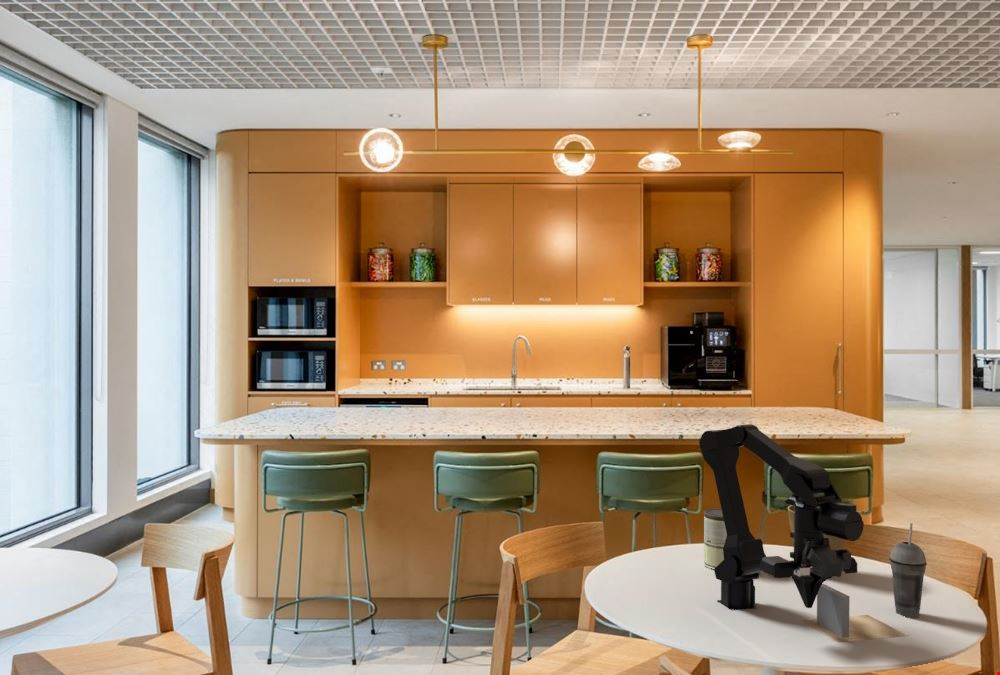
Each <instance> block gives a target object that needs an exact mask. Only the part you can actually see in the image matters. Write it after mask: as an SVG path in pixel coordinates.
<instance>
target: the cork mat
mask: <svg viewBox="0 0 1000 675" xmlns="http://www.w3.org/2000/svg"><path fill="white" fill-rule="evenodd" d="M801 621H802V622H803V623H806V624H807V625H808V626H810V627H812V628H814V629H815V630H817V631H819V632H821V633H823V634H824V635H825V636H827V637H829V638H831V639H833V640H834V641H836V642H837V643H846V642H856V641H858V642H859V641H866V640H869V641H870V640H877V639H879V640H880V639H888V638H901V637H908V636H910V635H909V634H906V633H905V632H902V631H901V630H898V629H896V628H895V627H892V626H891V625H890V624H889V625H888V624H887V623H885V622H883V621H881V620H879V619H877V618H875V617H873V616H871V615H869V614H860V615H849V637H841V636H839V635H837V634H835V633H834V632H832V631H830V630H828V629H827V628H825V627H823V626H821V625H819V624H818V623H817V618H815V619H814V618H813V619H805V620H803V619H802V620H801Z"/></svg>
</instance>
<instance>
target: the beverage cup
mask: <svg viewBox="0 0 1000 675" xmlns="http://www.w3.org/2000/svg"><path fill="white" fill-rule="evenodd" d="M908 532H909V535H908V541H902V542H899V543H897V544H896V545H895V546H893V547H892V549H891V551H890V555H889V556H890V557H889V559H888V560H889V561H890V568H891V572H892V573H891V574H892V587H893V598H894V607H895V614H897V615H900V616H902V617H904V616H905V618H908V617H917V618H919V617H920V610H921V604H922V594H923V586H924V577H925V576H924V575H925V573H926V570H927V569H926V566H927V564H928V563H927V559H926V554H925V553H924V551H923V549H922V548H921V547H920V546H919V545H918V544H916V543H913V542H912V536H913V523H912V522H910V523H909V531H908ZM918 616H919V617H918Z"/></svg>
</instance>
